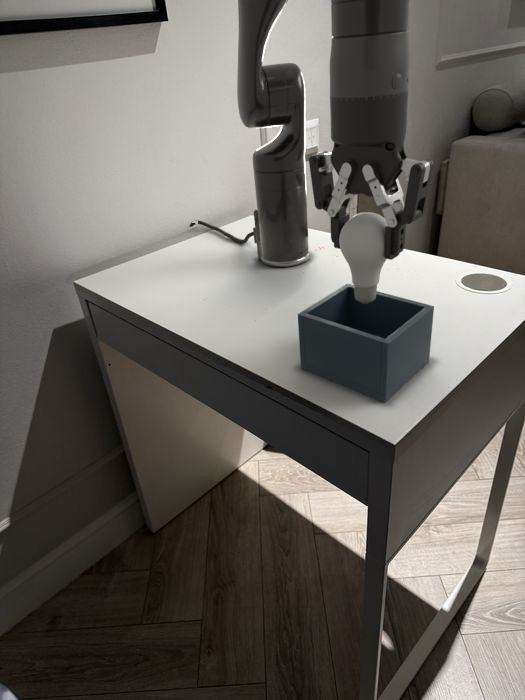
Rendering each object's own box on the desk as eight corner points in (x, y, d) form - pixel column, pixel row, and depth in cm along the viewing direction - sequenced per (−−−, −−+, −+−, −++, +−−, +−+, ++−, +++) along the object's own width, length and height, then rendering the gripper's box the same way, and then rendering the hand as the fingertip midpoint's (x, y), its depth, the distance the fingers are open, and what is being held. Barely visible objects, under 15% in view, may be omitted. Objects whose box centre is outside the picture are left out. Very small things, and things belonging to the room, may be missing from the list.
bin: (300, 368, 68) (297, 314, 64) (347, 334, 74) (347, 283, 70) (385, 402, 60) (387, 343, 56) (429, 361, 66) (434, 306, 62)
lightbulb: (391, 315, 59) (396, 222, 54) (337, 314, 61) (336, 223, 55) (390, 292, 64) (395, 204, 59) (341, 291, 66) (341, 205, 60)
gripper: (457, 82, 48) (440, 252, 57) (331, 84, 57) (333, 231, 66) (417, 93, 44) (406, 276, 53) (287, 94, 53) (296, 250, 61)
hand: (365, 251), depth 59 cm, fingers closed on lightbulb, 6 cm apart
